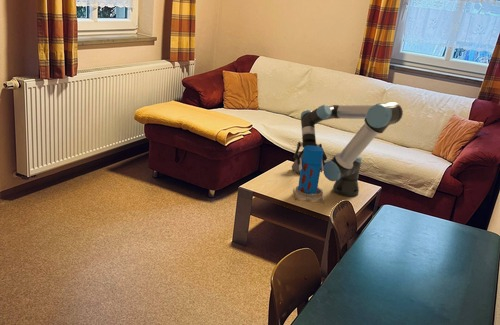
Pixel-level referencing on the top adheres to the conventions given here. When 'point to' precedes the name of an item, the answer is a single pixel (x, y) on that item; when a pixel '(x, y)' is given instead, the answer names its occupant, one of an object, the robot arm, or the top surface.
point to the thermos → (310, 169)
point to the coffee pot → (295, 165)
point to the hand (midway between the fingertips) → (311, 170)
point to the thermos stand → (309, 196)
